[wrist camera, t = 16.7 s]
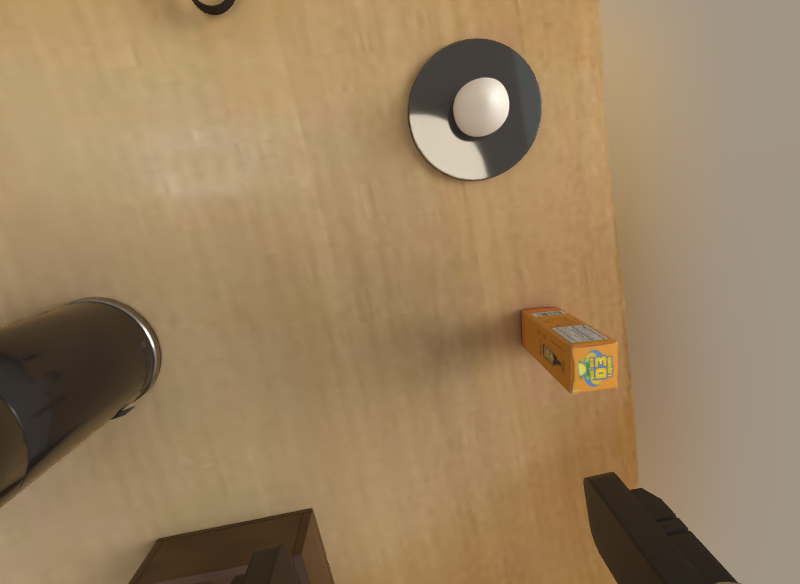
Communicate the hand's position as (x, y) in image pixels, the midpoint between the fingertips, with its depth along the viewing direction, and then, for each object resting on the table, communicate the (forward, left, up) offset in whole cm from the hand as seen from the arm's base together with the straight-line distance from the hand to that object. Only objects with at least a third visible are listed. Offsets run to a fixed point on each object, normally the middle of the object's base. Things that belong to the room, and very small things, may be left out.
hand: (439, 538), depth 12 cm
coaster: (+4, +15, -26) cm, 31 cm away
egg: (+4, +15, -26) cm, 30 cm away
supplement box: (+12, -1, -27) cm, 29 cm away
